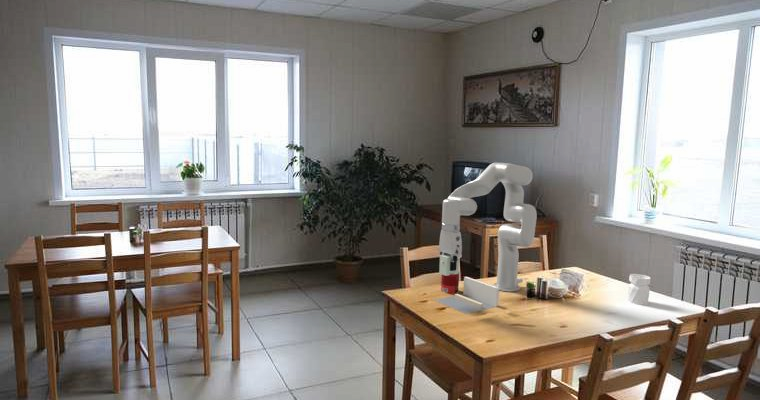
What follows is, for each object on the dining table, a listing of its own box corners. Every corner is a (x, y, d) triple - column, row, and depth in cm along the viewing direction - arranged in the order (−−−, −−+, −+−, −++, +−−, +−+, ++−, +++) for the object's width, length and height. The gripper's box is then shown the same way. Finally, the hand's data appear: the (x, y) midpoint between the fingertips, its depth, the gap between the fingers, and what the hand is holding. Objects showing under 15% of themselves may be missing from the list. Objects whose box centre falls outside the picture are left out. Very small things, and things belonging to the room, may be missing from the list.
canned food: (459, 296, 240) (460, 273, 239) (441, 296, 240) (442, 272, 239) (457, 291, 248) (458, 269, 246) (440, 291, 248) (441, 268, 246)
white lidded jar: (646, 306, 234) (648, 280, 233) (625, 302, 240) (627, 276, 238) (649, 301, 241) (652, 276, 240) (629, 297, 247) (631, 272, 245)
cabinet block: (451, 271, 231) (452, 253, 230) (458, 273, 227) (459, 255, 226) (438, 273, 226) (438, 255, 225) (445, 276, 223) (445, 257, 222)
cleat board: (465, 296, 240) (466, 276, 239) (498, 309, 224) (499, 288, 223) (433, 303, 230) (434, 282, 228) (465, 317, 213) (466, 294, 212)
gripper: (470, 230, 219) (469, 272, 222) (444, 223, 233) (442, 263, 236) (457, 232, 215) (455, 275, 218) (431, 225, 229) (429, 265, 231)
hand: (449, 268), depth 227 cm, fingers closed on cabinet block, 4 cm apart
